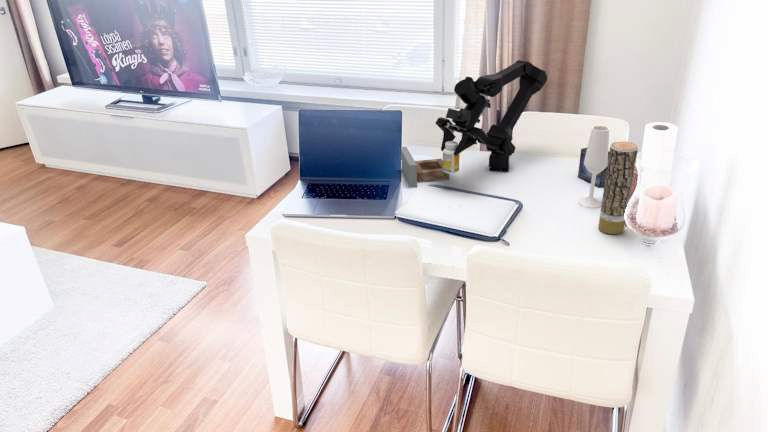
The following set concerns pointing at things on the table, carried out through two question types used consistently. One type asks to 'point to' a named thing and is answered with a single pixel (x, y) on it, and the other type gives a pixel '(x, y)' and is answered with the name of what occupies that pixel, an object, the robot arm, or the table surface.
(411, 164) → the grey backstop board
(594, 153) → the champagne flute
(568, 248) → the table surface
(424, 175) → the walnut socket block
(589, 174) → the small box
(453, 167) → the supplement bottle
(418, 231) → the table surface
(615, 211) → the bark print cylinder
